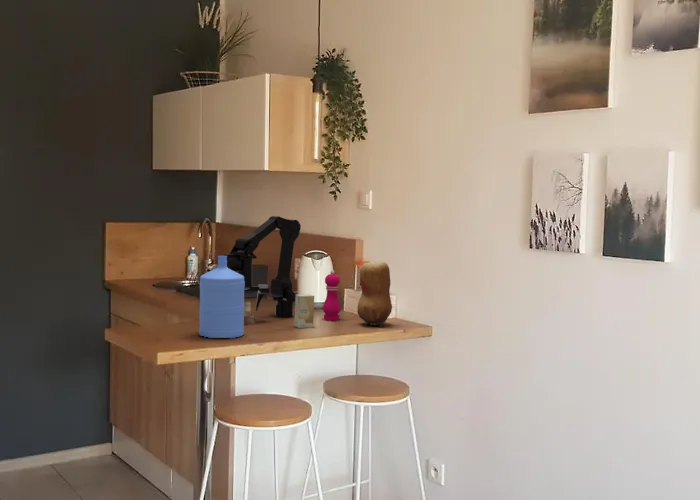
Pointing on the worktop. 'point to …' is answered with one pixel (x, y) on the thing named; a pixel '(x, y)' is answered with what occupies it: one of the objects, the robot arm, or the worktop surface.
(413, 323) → the worktop surface
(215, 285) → the water jug
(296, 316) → the skincare box
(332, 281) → the pepper mill
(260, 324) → the worktop surface
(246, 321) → the beige flat block
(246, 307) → the oak cube
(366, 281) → the butternut squash
